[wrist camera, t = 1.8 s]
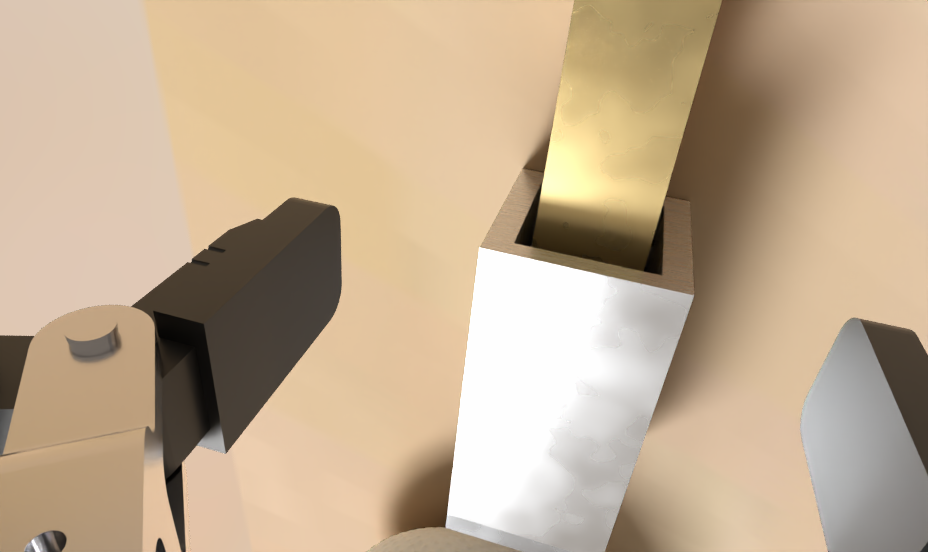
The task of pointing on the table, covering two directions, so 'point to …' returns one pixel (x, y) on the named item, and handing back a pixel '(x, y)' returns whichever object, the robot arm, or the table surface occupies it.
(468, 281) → the table surface
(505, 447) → the sleeve
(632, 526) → the table surface
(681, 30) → the rod
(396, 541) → the cereal bowl
